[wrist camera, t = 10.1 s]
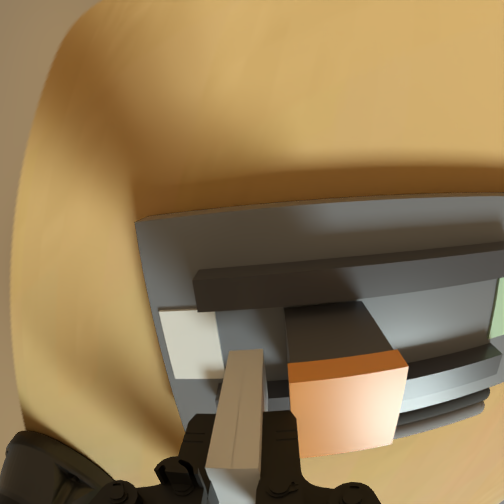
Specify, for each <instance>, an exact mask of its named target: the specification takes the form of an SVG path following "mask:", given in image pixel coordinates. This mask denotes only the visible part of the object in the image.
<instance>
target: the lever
mask: <svg viewBox="0 0 504 504" xmlns="http://www.w3.org/2000/svg"><path fill="white" fill-rule="evenodd" d="M284 316H285V331H286V347H287V364H288V381H289V400H290V411H291V412H292V413H293V415H294V416H295V417H296V419H297V431H298V442H299V454H300V458H308V457H318V456H326V455H333V454H340V453H347V452H353V451H359V450H364V449H370V448H375V447H380V446H385V445H389V444H392V441H393V437H394V433H395V429H396V425H397V421H398V417H399V413H400V408H401V404H402V399H403V394H404V389H405V384H406V379H407V373H408V368H409V366H408V364H407V363H406V361H405V360H404V358H403V357H402V355H401V354H400V352H399V351H398V349H396V350H394V349H393V348H392V346H391V345H390V343H389V342H388V340H387V338H386V337H385V335H384V334H383V332H382V331H381V329H380V328H379V326H378V325H377V323H376V321H375V320H374V318H373V317H372V315H371V314H370V312H369V311H368V309H367V308H366V306H365V305H364V303H363V302H362V301H355V302H347V303H337V304H328V305H318V306H308V307H297V308H286V309H284Z"/></svg>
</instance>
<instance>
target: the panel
mask: <svg viewBox="0 0 504 504" xmlns="http://www.w3.org/2000/svg"><path fill="white" fill-rule="evenodd" d="M135 228H136V234H137V240H138V246H139V252H140V257H141V263H142V268H143V273H144V278H145V283H146V288H147V293H148V297H149V302H150V307H151V311H152V315H153V320H154V324H155V328H156V332H157V336H158V340H159V344H160V348H161V352H162V356H163V360H164V364H165V367H166V371H167V374H168V378H169V381H170V385H171V388H172V392H173V395H174V398H175V402H176V405H177V408H178V411H179V415H180V418H181V421H182V424H183V427H184V430H185V431H186V428H187V425H188V422H189V421H190V420H191V419H192V418H193V417H194V415H195V414H216V412H217V407H218V403H219V398H220V393H221V388H222V383H223V379H224V374H225V369H226V364H227V359H228V354H229V351H235V350H253V349H263V353H264V362H265V372H266V381H267V391H268V411H282V410H290V400H289V381H288V364H287V347H286V331H285V316H284V309H286V308H297V307H308V306H318V305H328V304H337V303H347V302H355V301H362V302H363V303H364V305H365V306H366V308H367V309H368V311H369V312H370V314H371V315H372V317H373V318H374V320H375V321H376V323H377V325H378V326H379V328H380V329H381V331H382V332H383V334H384V335H385V337H386V338H387V340H388V342H389V343H390V345H391V346H392V348H393V349H394V350H396V349H398V351H399V352H400V354H401V355H402V357H403V358H404V360H405V361H406V363H407V364H408V366H409V368H408V373H407V379H406V384H405V389H404V394H403V399H402V404H401V408H400V413H402V412H407V411H411V410H415V409H419V408H423V407H427V406H431V405H435V404H438V403H442V402H445V401H449V400H452V399H456V398H459V397H462V396H465V395H468V394H471V393H474V392H477V391H480V390H483V389H486V388H489V387H492V386H494V385H497V384H500V383H502V382H504V192H475V193H429V194H401V195H380V196H361V197H344V198H329V199H314V200H301V201H289V202H277V203H265V204H254V205H244V206H233V207H223V208H214V209H205V210H196V211H187V212H178V213H170V214H162V215H154V216H147V217H145V218H143V219H141V220H139V221H136V222H135Z"/></svg>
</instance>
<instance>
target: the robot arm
mask: <svg viewBox="0 0 504 504" xmlns="http://www.w3.org/2000/svg"><path fill="white" fill-rule="evenodd" d="M154 471H155V473H156V475H157V477H158V478H159V480H160V482H161V484H159V485H155V486H149V487H141V488H135V487H134V485H132V484H131V483H129V482H127V481H123V480H117V481H113V480H112V479H111V478H110V477H109V476H108V475H107V474H106V473H105V472H104V471H102V470H101V469H100V468H99V467H97V466H96V465H95V464H93V463H92V462H91V461H89V460H88V459H86V458H85V457H83V456H82V455H80V454H79V453H77V452H76V451H74V450H72V449H71V448H69V447H67V446H66V445H64V444H62V443H60V442H58V441H56V440H54V439H52V438H50V437H47V436H45V435H42V434H39V433H36V432H32V431H21V432H18V433H17V434H16V435H15V436H14V438H13V439H12V440H11V441H10V443H9V444H8V446H7V448H6V459H5V461H4V464H3V468H2V471H1V475H0V504H381V503H380V501H379V500H378V498H377V496H376V495H375V493H374V491H373V490H372V489H371V488H370V487H369V486H367V485H365V484H362V483H357V482H350V483H344V484H342V485H340V486H338V487H336V488H335V489H330V488H323V487H318V486H314V485H312V484H310V483H309V482H308V481H306V480H305V479H304V477H303V475H302V473H301V467H300V454H299V442H298V431H297V419H296V417H295V416H294V415H293V413H292V412H291V411H290V410H282V411H268V391H267V381H266V372H265V362H264V353H263V349H253V350H235V351H229V354H228V359H227V364H226V369H225V374H224V379H223V383H222V388H221V393H220V398H219V403H218V407H217V412H216V414H195V415H194V417H193V418H192V419H191V420H190V421H189V422H188V425H187V428H186V432H185V435H184V438H183V442H182V445H181V449H180V452H179V455H178V456H176V457H170V458H167V459H164V460H163V461H161V462H160V463H159V464H157V466H156V468H155V469H154Z"/></svg>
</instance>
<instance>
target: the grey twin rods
mask: <svg viewBox="0 0 504 504" xmlns="http://www.w3.org/2000/svg"><path fill="white" fill-rule="evenodd" d="M489 394H490V389H489V388H486V389H483V390H480V391H477V392H474V393H471V394H468V395H465V396H462V397H459V398H456V399H452V400H449V401H445V402H442V403H438V404H435V405H431V406H427V407H423V408H419V409H415V410H411V411H407V412H402V413H399V417H398V421H397V425H396V429H395V433H394V437H393V439H397V438H401V437H406V436H410V435H414V434H417V433H421V432H425V431H428V430H432V429H435V428H439V427H442V426H445V425H448V424H452V423H455V422H458V421H461V420H464V419H467V418H469V417H472V416H475V415H478V414H480V413H481V412H482V411H483V409H484V406H485V404H484V402H483V400H485V399H487V398H488V396H489Z"/></svg>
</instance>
